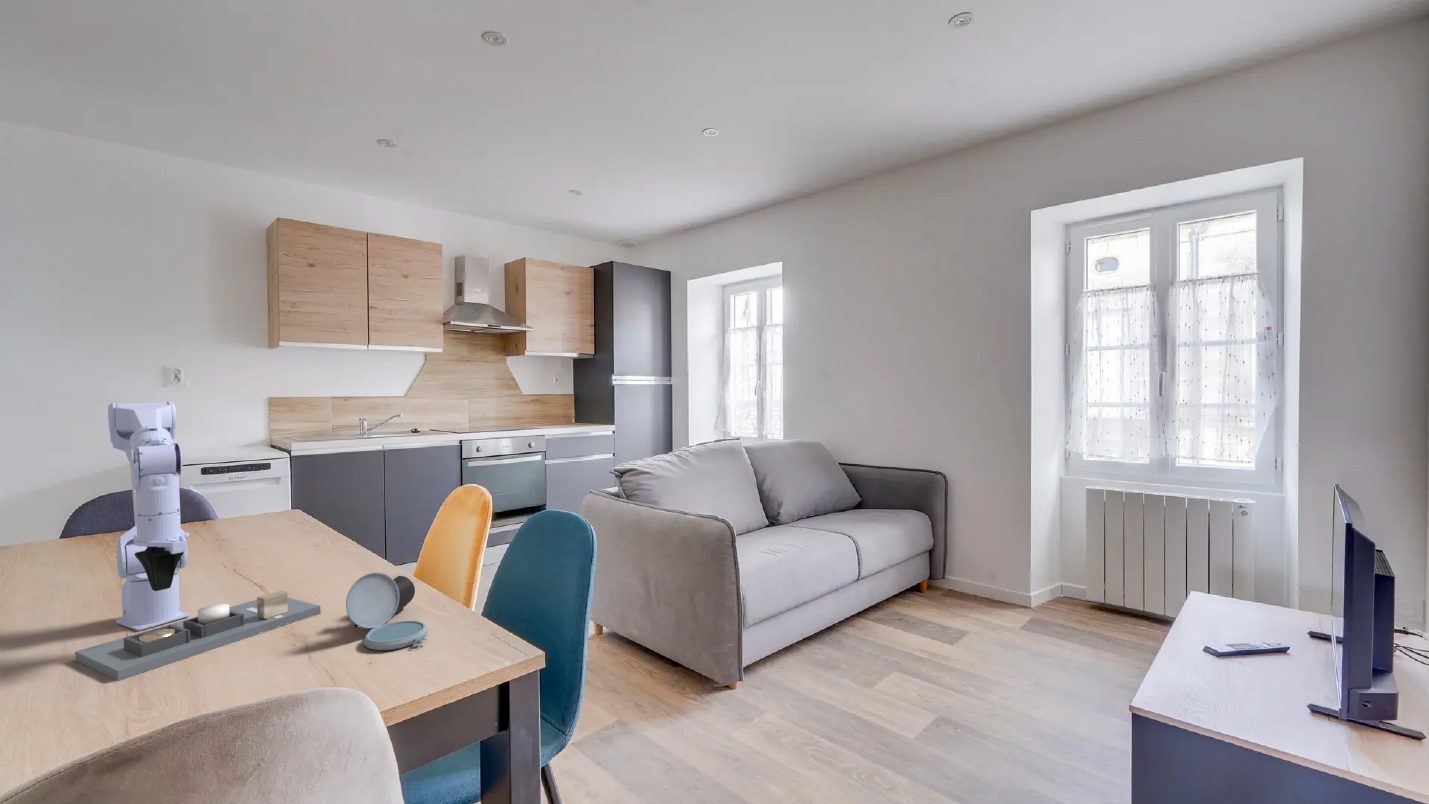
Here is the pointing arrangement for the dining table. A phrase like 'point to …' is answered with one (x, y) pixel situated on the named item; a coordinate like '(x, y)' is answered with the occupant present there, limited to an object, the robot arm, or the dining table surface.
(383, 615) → the pocket watch
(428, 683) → the dining table surface
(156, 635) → the brass button
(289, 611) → the panel
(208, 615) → the white button
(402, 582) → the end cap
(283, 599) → the frosted cream block
